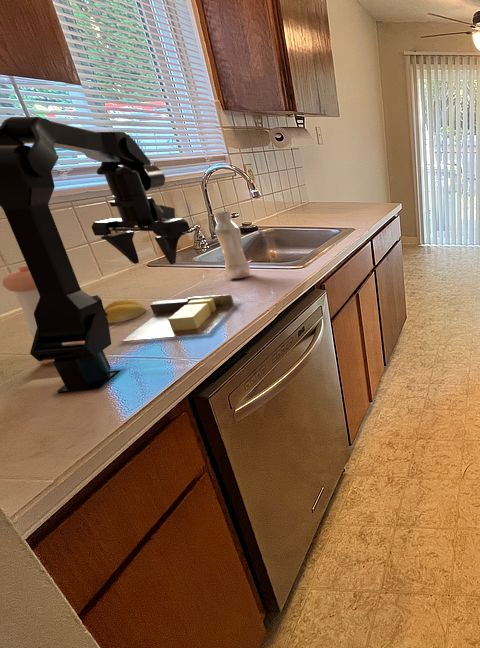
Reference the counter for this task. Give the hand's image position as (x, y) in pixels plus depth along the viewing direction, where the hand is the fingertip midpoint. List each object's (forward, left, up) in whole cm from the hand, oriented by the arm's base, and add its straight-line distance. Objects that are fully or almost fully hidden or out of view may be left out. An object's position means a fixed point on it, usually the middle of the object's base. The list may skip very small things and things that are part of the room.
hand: (154, 263), depth 93 cm
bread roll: (+2, +12, -14) cm, 18 cm away
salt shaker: (-17, +12, -14) cm, 25 cm away
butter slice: (-1, -7, -13) cm, 15 cm away
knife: (+2, -4, -13) cm, 14 cm away
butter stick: (-7, -7, -13) cm, 16 cm away
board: (-5, -5, -14) cm, 15 cm away
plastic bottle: (+28, -6, -14) cm, 32 cm away
